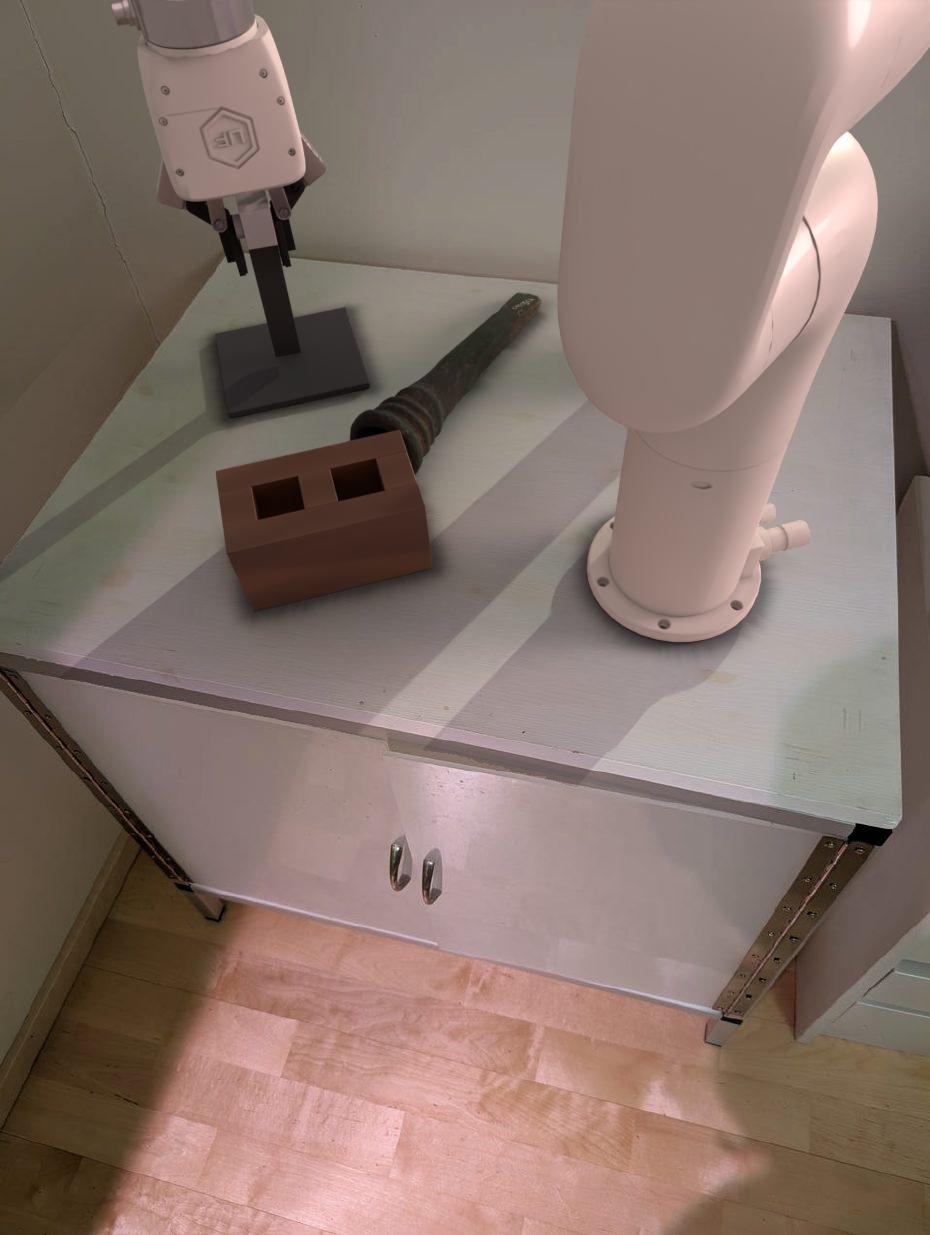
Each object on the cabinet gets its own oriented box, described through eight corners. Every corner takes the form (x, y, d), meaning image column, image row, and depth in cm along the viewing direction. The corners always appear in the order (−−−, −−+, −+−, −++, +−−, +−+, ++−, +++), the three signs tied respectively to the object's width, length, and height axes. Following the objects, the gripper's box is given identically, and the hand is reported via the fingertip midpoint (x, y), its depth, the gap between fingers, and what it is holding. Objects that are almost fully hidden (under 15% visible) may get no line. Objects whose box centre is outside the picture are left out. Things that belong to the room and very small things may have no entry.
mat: (346, 311, 83) (345, 306, 83) (370, 387, 77) (369, 382, 76) (216, 338, 82) (214, 333, 81) (229, 418, 75) (227, 413, 75)
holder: (240, 532, 67) (215, 470, 62) (409, 493, 69) (399, 429, 63) (252, 612, 63) (226, 553, 57) (433, 568, 64) (425, 506, 58)
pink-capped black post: (296, 333, 79) (262, 181, 68) (303, 362, 77) (269, 209, 65) (265, 339, 79) (225, 187, 67) (271, 368, 77) (231, 215, 65)
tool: (413, 500, 68) (405, 440, 63) (351, 470, 71) (338, 410, 65) (578, 319, 81) (583, 256, 75) (520, 298, 83) (522, 235, 78)
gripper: (70, 53, 53) (170, 308, 68) (325, 11, 54) (367, 268, 69) (71, 8, 57) (164, 257, 72) (307, -30, 59) (350, 221, 74)
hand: (263, 260), depth 71 cm, fingers closed on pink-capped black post, 3 cm apart
